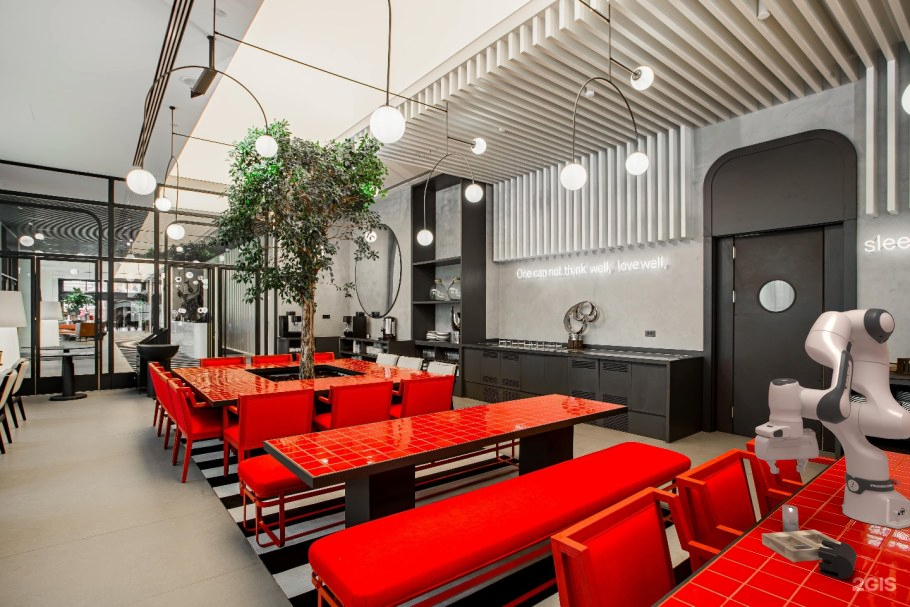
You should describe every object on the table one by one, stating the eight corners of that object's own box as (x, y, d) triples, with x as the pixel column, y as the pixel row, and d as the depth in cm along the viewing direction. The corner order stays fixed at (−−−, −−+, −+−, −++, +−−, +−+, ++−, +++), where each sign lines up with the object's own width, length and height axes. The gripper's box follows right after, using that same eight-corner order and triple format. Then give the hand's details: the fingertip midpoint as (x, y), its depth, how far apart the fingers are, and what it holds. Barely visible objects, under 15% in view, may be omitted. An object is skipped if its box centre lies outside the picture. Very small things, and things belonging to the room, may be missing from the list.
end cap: (853, 584, 119) (852, 557, 119) (818, 574, 124) (817, 548, 124) (857, 570, 126) (856, 544, 126) (824, 560, 131) (823, 536, 131)
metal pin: (791, 529, 151) (790, 504, 151) (802, 534, 147) (800, 509, 147) (780, 530, 150) (779, 505, 151) (790, 535, 146) (789, 510, 147)
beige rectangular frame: (814, 539, 143) (814, 529, 144) (849, 557, 132) (848, 545, 133) (762, 543, 141) (761, 533, 141) (793, 562, 130) (792, 550, 130)
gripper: (806, 426, 155) (807, 468, 154) (750, 428, 152) (752, 471, 151) (823, 430, 148) (825, 474, 148) (765, 432, 146) (767, 477, 145)
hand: (787, 472), depth 149 cm, fingers open, 8 cm apart
